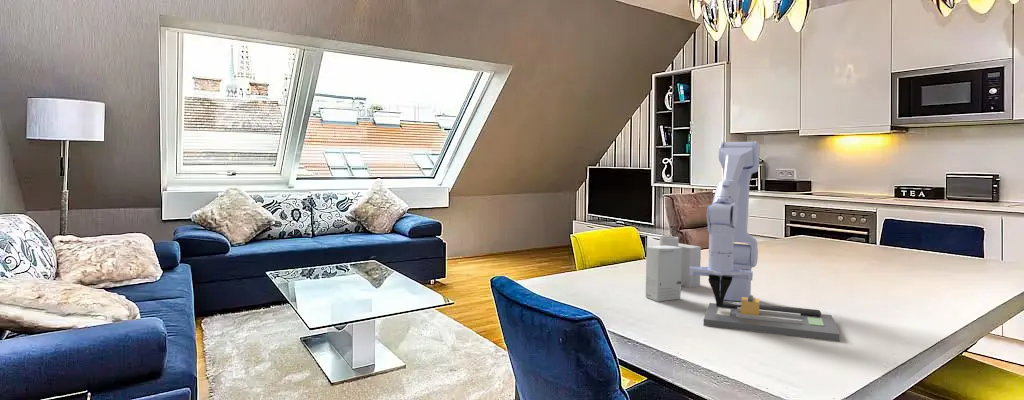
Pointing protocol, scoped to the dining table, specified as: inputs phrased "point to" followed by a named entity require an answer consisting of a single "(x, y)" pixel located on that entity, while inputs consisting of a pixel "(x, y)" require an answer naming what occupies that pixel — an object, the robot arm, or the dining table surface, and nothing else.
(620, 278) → the dining table surface
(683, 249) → the white box
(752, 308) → the switch
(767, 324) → the grey base plate
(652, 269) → the skincare box
